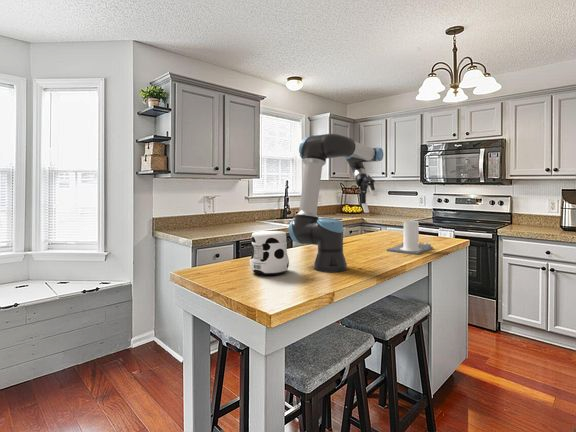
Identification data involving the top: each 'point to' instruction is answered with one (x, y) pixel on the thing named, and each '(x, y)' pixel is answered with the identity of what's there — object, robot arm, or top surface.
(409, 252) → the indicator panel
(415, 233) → the cup
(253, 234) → the milk container
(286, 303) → the top surface
